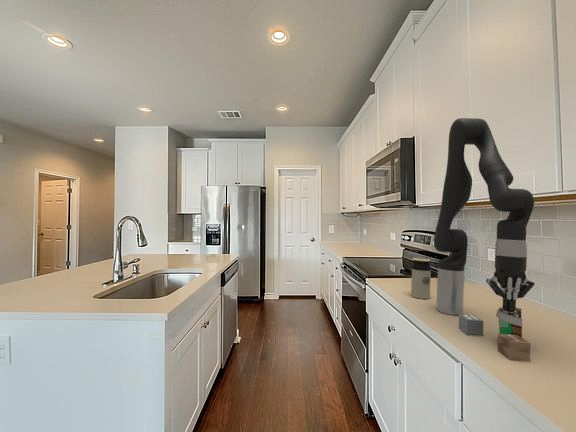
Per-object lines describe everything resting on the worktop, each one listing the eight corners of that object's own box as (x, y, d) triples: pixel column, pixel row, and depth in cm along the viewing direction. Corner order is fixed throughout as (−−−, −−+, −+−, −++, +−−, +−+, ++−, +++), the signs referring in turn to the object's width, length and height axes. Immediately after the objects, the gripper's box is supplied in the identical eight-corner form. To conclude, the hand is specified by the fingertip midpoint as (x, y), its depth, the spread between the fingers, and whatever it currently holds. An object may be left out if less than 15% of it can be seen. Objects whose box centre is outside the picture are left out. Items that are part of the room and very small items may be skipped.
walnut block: (497, 351, 80) (498, 333, 80) (515, 352, 79) (516, 334, 79) (509, 360, 75) (510, 341, 75) (529, 361, 74) (530, 342, 74)
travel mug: (408, 294, 135) (409, 257, 135) (425, 294, 135) (426, 257, 135) (415, 299, 127) (416, 260, 127) (433, 299, 127) (434, 260, 127)
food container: (496, 333, 91) (497, 303, 91) (520, 339, 88) (521, 308, 87) (494, 347, 82) (495, 313, 82) (521, 354, 78) (522, 319, 78)
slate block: (458, 329, 95) (458, 314, 95) (473, 329, 95) (474, 314, 94) (466, 335, 90) (467, 319, 90) (482, 336, 90) (483, 320, 90)
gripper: (524, 253, 88) (522, 308, 88) (480, 251, 89) (478, 306, 89) (544, 256, 80) (542, 316, 80) (495, 255, 81) (494, 314, 81)
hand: (508, 311), depth 84 cm, fingers closed
